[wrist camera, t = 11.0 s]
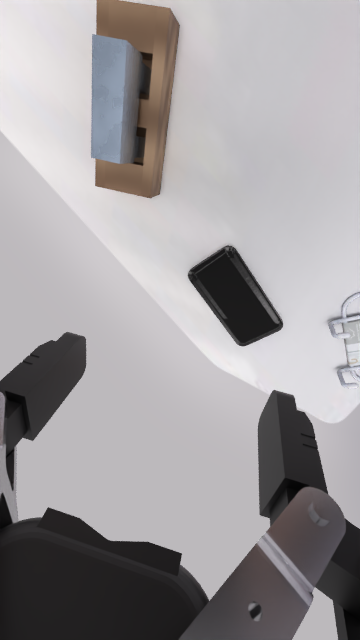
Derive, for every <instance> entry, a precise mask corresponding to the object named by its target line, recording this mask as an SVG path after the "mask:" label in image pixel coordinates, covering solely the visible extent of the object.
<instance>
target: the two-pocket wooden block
mask: <svg viewBox="0 0 360 640" xmlns="http://www.w3.org/2000/svg"><path fill="white" fill-rule="evenodd" d="M179 26H180V25H179V23H178V22H177V20H176V18H175V16H174V15H173V13H172V11H171V9H170V8H165V7H159V6H152V5H146V4H139V3H132V2H126V1H119V0H97V34H96V35H100V36H105V37H111V38H116V39H122V40H127V41H128V42H129V43H130V44H131V45H132V46H133V47H134V48H136V49H137V50H138V51H139V52H140V53H141V54H142V55H143V56H142V62H143V63H144V64H145V65H146V66H147V67H149V68H150V69H151V70H152V72H151V83H150V95H146V94H141V93H140V94H139V106H138V118H137V131H136V136H140V137H144V138H146V141H145V152H144V158H134V163H125V164H118V163H114V162H109V161H105V160H100V159H96V177H95V186H98V187H102V188H107V189H111V190H116V191H120V192H125V193H129V194H134V195H138V196H143V197H147V198H152V197H154V196H156V195H159V194H160V186H161V178H162V169H163V161H164V152H165V144H166V136H167V127H168V119H169V110H170V102H171V94H172V85H173V77H174V68H175V60H176V52H177V43H178V35H179Z"/></svg>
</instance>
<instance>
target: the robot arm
mask: <svg viewBox="0 0 360 640" xmlns="http://www.w3.org/2000/svg"><path fill="white" fill-rule="evenodd" d="M85 368H86V339H85V337H84V336H80V335H77V334H73V333H69V332H66V333H64V334H63V335H62V337H60V338H59V339H58V340H57V341H53V340H51V341H49V342H47V343H44V344H42V345H40V346H39V347H38V348H36V349H35V350H34V351H33V352H32V353H31V354H30V356H27V357H26V358H25V359H24V360H23V362H22V363H20V364H19V365H17V366H16V367H15V368H14V369H13V370H12V371H11V372H10V373H9V374H7V375H6V376H5V377H4V378H3V379H2V380H1V381H0V640H292V638H293V637H294V635H295V633H296V631H297V629H298V627H299V626H300V624H301V622H302V620H303V619H304V617H305V615H306V613H307V611H308V609H309V607H310V605H311V603H312V601H313V595H312V592H313V589H314V587H316V588H317V589H318V590H320V591H321V592H323V593H324V594H325V595H326V596H328V597H329V598H330V599H332V600H333V605H334V612H335V619H336V627H337V634H338V640H360V529H359V528H357V527H356V526H354V525H353V524H351V523H350V522H349V521H348V520H346V519H345V518H344V515H343V513H342V511H341V509H340V507H339V506H338V504H337V503H336V502H335V501H334V500H333V499H332V498H331V497H330V496H329V495H328V491H327V487H326V483H325V478H324V474H323V469H322V465H321V460H320V456H319V452H318V450H317V449H318V447H317V442H316V440H315V434H314V429H313V425H312V423H311V422H310V420H309V418H308V417H307V416H306V414H305V412H301V411H298V410H297V409H296V403H295V398H294V396H293V395H290V394H287V393H283V392H279V391H276V390H274V391H272V393H271V395H270V397H269V399H268V402H267V403H266V405H265V407H264V410H263V412H262V414H261V416H260V419H259V424H258V455H259V456H258V458H259V501H260V503H259V504H260V515H261V516H264V517H268V518H270V528H269V529H268V531H267V532H266V533H265V534H264V535H263V536H262V537H261V538H260V540H259V541H258V542H257V543H256V544H255V546H254V547H253V548H252V549H251V551H250V552H249V553H248V554H247V556H246V557H245V558H244V559H243V560H242V562H241V563H240V564H239V566H238V567H237V568H236V569H235V570H234V572H233V573H232V574H231V575H230V576H229V578H228V579H227V580H226V581H225V583H224V584H223V585H222V586H221V588H220V589H219V590H218V591H217V592H216V594H215V595H214V596H213V598H212V599H211V600H210V601H209V599H208V597H207V596H206V594H205V592H204V590H203V589H202V587H201V586H200V584H199V583H198V582H197V581H196V579H195V578H194V577H193V576H192V575H191V574H190V573H189V572H188V571H187V570H186V569H185V568H184V567H183V566H181V565H180V561H181V555H182V554H181V553H179V552H176V551H173V550H170V549H167V548H164V547H161V546H158V545H155V544H153V543H149V542H130V541H110V540H107V539H106V538H104V537H103V536H102V535H101V534H99V533H98V532H97V531H95V530H94V529H93V528H92V527H90V526H89V525H88V524H86V523H85V522H84V521H82V520H81V519H80V518H77V517H74V516H71V515H69V514H65V513H63V512H60V511H57V510H54V509H51V508H47V510H46V512H45V514H44V515H43V517H42V518H30V519H26V520H22V521H18V511H17V503H16V455H17V453H16V451H17V450H16V445H17V444H18V442H19V441H20V440H21V439H22V437H23V438H26V439H29V440H32V441H33V440H34V439H35V437H36V436H37V435H38V434H39V432H40V431H41V430H42V428H43V427H44V426H45V425H46V423H47V422H48V421H49V419H50V418H51V417H52V415H53V414H54V413H55V412H56V410H57V409H58V408H59V406H60V405H61V404H62V402H63V401H64V400H65V398H66V397H67V396H68V394H69V393H70V392H71V390H72V389H73V388H74V387H75V385H76V384H77V383H78V381H79V380H80V379H81V377H82V376H83V373H84V371H85Z"/></svg>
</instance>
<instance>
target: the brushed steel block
mask: <svg viewBox="0 0 360 640" xmlns="http://www.w3.org/2000/svg"><path fill="white" fill-rule="evenodd" d="M142 56H143V55H142V54H141V53H140V52H139V51H138V50H137V49H136V48H134V47H133V46H132V45H131V44H130V43H129V42H128V41H127V40H122V39H116V38H111V37H105V36H100V35H94V34H92V137H91V158H96V159H100V160H105V161H109V162H114V163H118V164H125V163H134V158H144V152H145V141H146V138H144V137H140V136H136V131H137V118H138V106H139V94H140V93H141V94H146V95H150V83H151V72H152V70H151V69H150V68H149V67H147V66H146V65H145V64H144V63H143V62H142Z"/></svg>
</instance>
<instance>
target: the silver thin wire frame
mask: <svg viewBox="0 0 360 640" xmlns="http://www.w3.org/2000/svg"><path fill="white" fill-rule="evenodd" d="M358 297H360V293H357V294H354V295H353V296H351V297H350V298H348V299H347V300H346V302H345V303H344V305H343V307H342V319H338V320H334V321H331V322H329V329H330V331H331V334H332V336H333V337H335V338H338V339H344V340H345V347H346V354H347V362H348V365H349V366H350V367H348V368H342V369H339V370H338V371H337V374H338V377H339V380H340V383H341V385H342V386H343V387H345V388H348V389H355V388H358V386H359V385H358V384H357V383H345V381H344V379H343V376H342V372H347V371H350V372H351V375H352V376H353V378H354V379H356V380H357V381H360V377H358V376H357V375H356V374H355V371H354V370H360V315H357V316H352V317H347V316H346V310H347V307H348V305H349V303H350V302H351V301H353V300H354V299H356V298H358ZM338 323H342V326H343V333H338V334H336V332H335V329H334V327H333V325H334V324H338Z"/></svg>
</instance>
